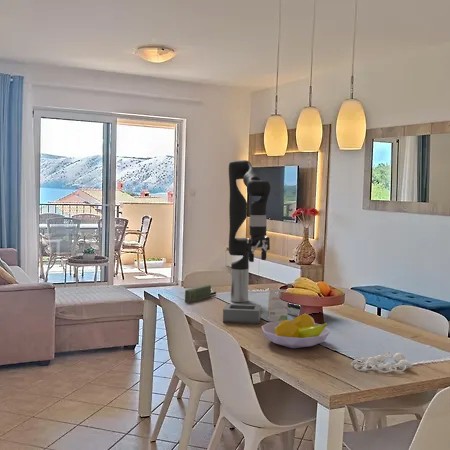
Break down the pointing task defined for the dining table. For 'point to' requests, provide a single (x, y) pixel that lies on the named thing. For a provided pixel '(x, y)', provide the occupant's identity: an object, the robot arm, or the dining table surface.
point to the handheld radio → (198, 293)
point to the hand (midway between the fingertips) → (257, 260)
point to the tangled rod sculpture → (378, 361)
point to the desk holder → (242, 313)
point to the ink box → (277, 306)
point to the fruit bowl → (296, 332)
